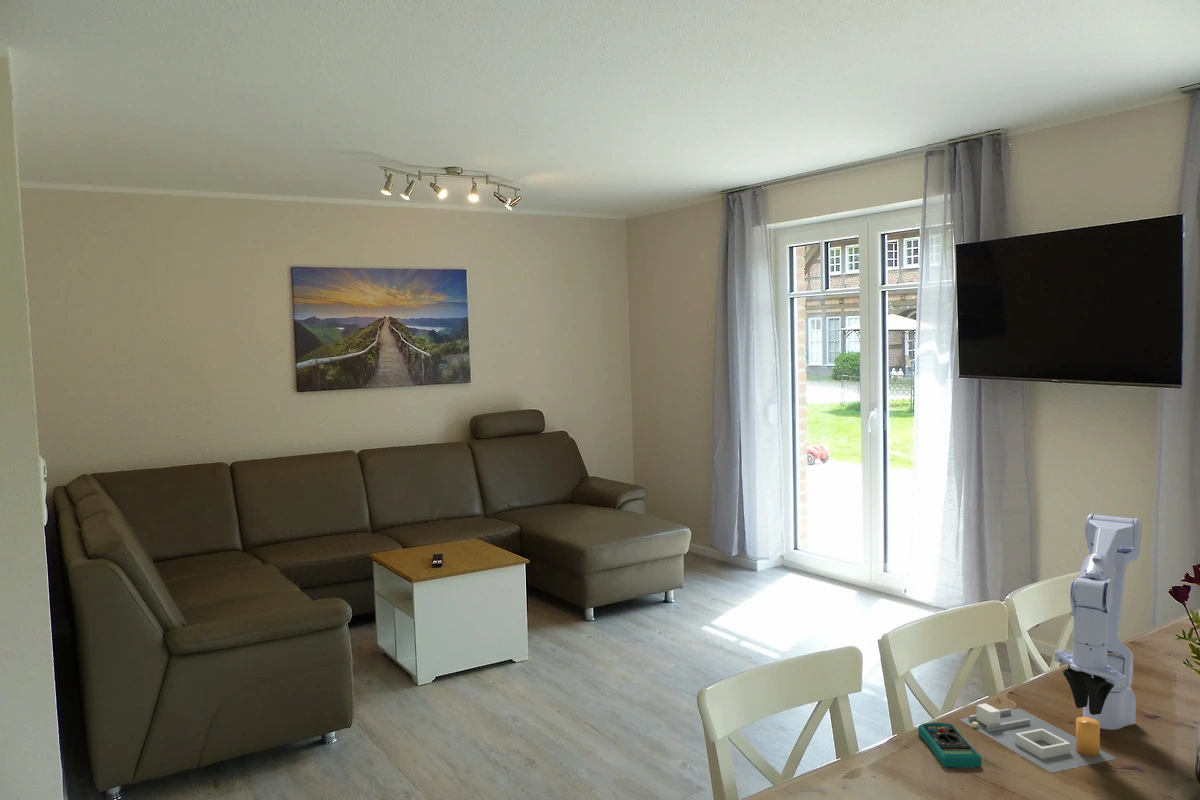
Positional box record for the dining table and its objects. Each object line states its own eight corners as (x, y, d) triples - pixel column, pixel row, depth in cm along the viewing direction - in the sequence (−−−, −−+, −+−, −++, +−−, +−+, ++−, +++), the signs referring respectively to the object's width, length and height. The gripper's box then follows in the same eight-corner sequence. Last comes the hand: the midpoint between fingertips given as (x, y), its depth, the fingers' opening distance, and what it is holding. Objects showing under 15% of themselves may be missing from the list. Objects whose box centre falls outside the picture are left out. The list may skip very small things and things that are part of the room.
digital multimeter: (952, 734, 178) (952, 720, 178) (982, 770, 163) (982, 754, 163) (916, 734, 178) (916, 720, 178) (943, 770, 163) (943, 755, 163)
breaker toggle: (985, 718, 181) (985, 703, 180) (1000, 726, 177) (1000, 710, 177) (976, 719, 180) (976, 704, 180) (990, 727, 176) (990, 712, 176)
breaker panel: (1019, 713, 186) (1019, 699, 186) (1117, 764, 163) (1117, 748, 163) (958, 724, 181) (958, 710, 181) (1051, 779, 158) (1051, 762, 158)
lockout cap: (1086, 745, 169) (1087, 715, 168) (1104, 754, 165) (1105, 724, 164) (1070, 748, 167) (1071, 718, 167) (1088, 758, 164) (1088, 727, 163)
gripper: (1043, 631, 170) (1041, 698, 171) (1106, 656, 157) (1105, 729, 157) (1070, 627, 172) (1069, 693, 173) (1136, 651, 159) (1134, 723, 160)
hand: (1088, 710), depth 166 cm, fingers open, 3 cm apart
